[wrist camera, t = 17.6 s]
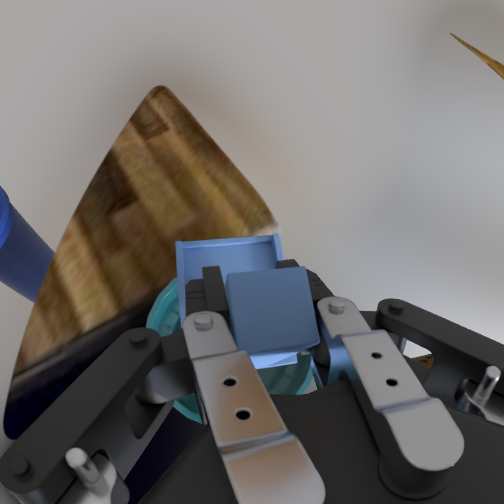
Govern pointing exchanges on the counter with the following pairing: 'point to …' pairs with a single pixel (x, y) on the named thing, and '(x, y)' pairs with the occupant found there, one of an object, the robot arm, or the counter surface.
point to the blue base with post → (255, 295)
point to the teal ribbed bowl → (274, 378)
